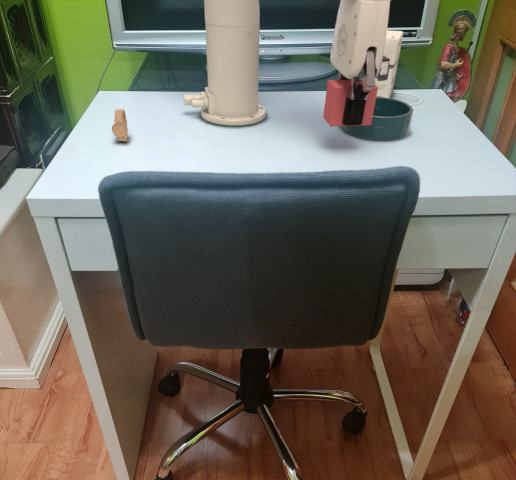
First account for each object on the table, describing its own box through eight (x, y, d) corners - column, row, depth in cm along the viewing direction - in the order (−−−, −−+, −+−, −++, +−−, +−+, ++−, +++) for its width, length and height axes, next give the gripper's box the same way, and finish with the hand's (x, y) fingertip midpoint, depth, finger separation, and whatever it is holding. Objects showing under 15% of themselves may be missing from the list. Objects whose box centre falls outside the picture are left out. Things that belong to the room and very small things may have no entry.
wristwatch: (114, 145, 86) (109, 114, 83) (117, 135, 90) (113, 105, 86) (130, 145, 86) (125, 114, 83) (133, 135, 90) (129, 105, 87)
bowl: (355, 142, 90) (358, 119, 87) (333, 119, 99) (336, 97, 96) (419, 139, 92) (424, 115, 89) (392, 116, 101) (396, 95, 98)
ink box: (371, 89, 115) (380, 28, 107) (393, 91, 114) (404, 30, 106) (365, 99, 109) (374, 36, 101) (388, 102, 108) (400, 38, 100)
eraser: (330, 126, 82) (335, 87, 78) (322, 117, 84) (327, 79, 80) (370, 125, 83) (378, 87, 79) (362, 116, 86) (369, 79, 82)
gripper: (325, -27, 76) (310, 102, 89) (365, -6, 64) (341, 139, 77) (372, -25, 78) (351, 101, 90) (419, -4, 66) (387, 138, 78)
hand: (347, 118), depth 83 cm, fingers closed on eraser, 4 cm apart
